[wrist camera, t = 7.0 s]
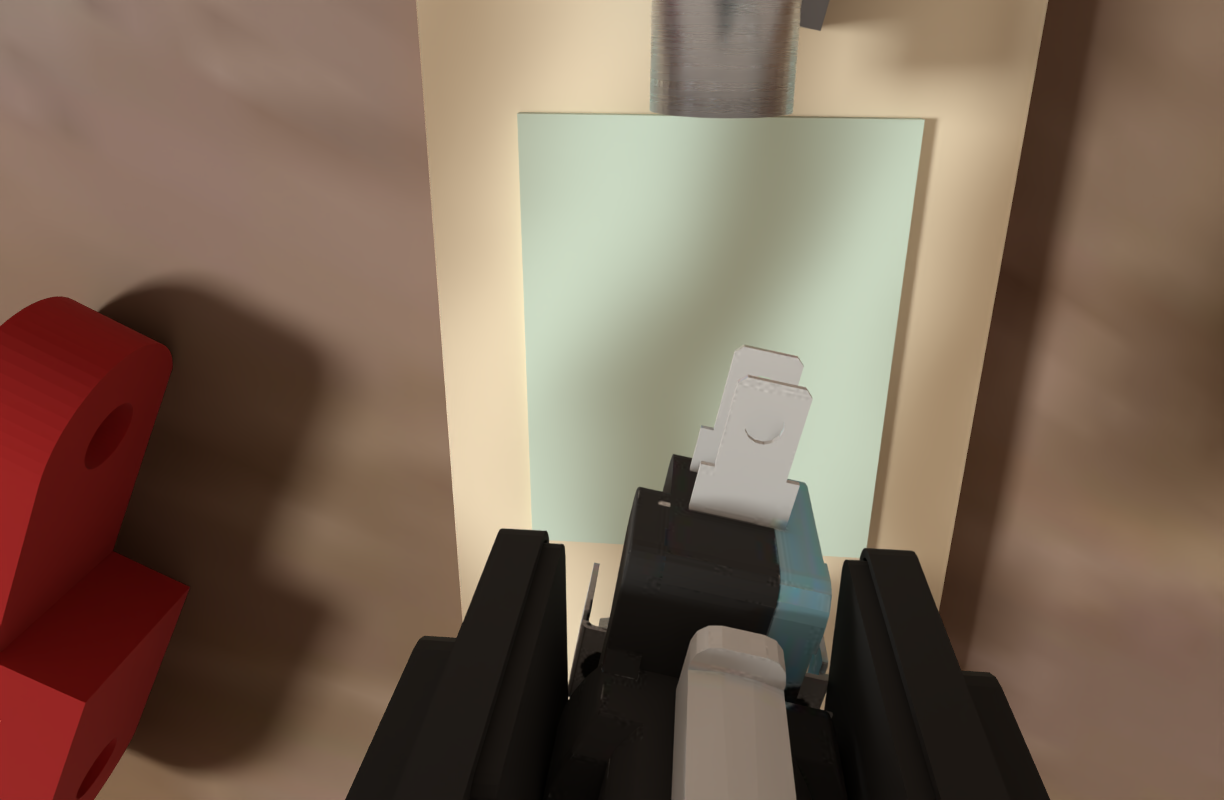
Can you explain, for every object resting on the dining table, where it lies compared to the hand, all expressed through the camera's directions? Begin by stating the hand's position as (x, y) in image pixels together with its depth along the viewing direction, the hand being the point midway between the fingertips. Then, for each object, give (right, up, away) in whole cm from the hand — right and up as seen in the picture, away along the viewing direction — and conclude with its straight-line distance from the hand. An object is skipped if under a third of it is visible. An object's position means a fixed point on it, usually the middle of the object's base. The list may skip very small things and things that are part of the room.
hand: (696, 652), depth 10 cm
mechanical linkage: (-16, -1, +16) cm, 23 cm away
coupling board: (+1, +5, +11) cm, 12 cm away
